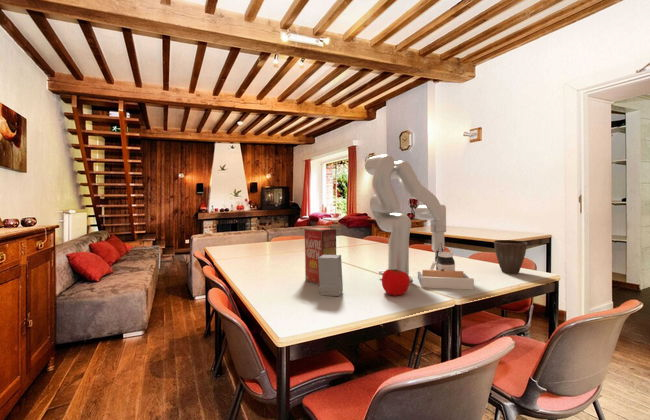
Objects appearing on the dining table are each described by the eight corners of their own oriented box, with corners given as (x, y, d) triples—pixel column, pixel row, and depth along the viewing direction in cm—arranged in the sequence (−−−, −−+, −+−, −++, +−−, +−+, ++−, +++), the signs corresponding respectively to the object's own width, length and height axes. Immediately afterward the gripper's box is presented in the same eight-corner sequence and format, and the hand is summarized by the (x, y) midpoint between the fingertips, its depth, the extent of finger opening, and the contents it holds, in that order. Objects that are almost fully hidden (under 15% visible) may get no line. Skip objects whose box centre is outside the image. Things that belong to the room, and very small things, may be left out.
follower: (422, 280, 151) (422, 268, 150) (422, 279, 152) (422, 267, 152) (463, 282, 147) (463, 270, 147) (462, 281, 149) (462, 269, 149)
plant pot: (499, 275, 160) (499, 243, 160) (489, 268, 175) (489, 239, 174) (532, 276, 158) (532, 244, 157) (519, 269, 172) (519, 240, 172)
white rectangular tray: (421, 287, 140) (421, 277, 140) (417, 277, 157) (417, 268, 156) (473, 289, 136) (474, 279, 136) (464, 279, 153) (464, 270, 152)
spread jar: (457, 279, 153) (457, 255, 152) (433, 279, 153) (433, 255, 152) (447, 271, 165) (448, 249, 164) (425, 272, 165) (425, 250, 164)
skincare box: (343, 292, 133) (342, 254, 132) (338, 297, 126) (337, 257, 126) (323, 290, 136) (323, 253, 135) (317, 295, 129) (317, 256, 129)
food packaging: (304, 280, 153) (303, 228, 152) (318, 277, 159) (318, 226, 158) (322, 286, 143) (322, 230, 142) (337, 282, 149) (337, 228, 149)
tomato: (378, 296, 127) (378, 270, 127) (384, 288, 139) (384, 264, 139) (407, 299, 123) (407, 273, 123) (411, 290, 135) (411, 266, 135)
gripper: (428, 227, 172) (428, 261, 173) (433, 230, 157) (433, 267, 158) (443, 227, 170) (443, 261, 171) (449, 230, 156) (449, 268, 157)
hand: (438, 264), depth 165 cm, fingers closed
